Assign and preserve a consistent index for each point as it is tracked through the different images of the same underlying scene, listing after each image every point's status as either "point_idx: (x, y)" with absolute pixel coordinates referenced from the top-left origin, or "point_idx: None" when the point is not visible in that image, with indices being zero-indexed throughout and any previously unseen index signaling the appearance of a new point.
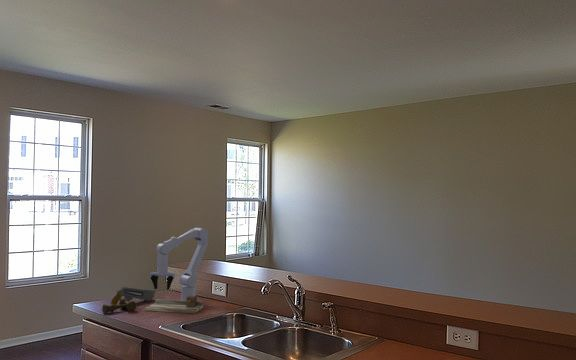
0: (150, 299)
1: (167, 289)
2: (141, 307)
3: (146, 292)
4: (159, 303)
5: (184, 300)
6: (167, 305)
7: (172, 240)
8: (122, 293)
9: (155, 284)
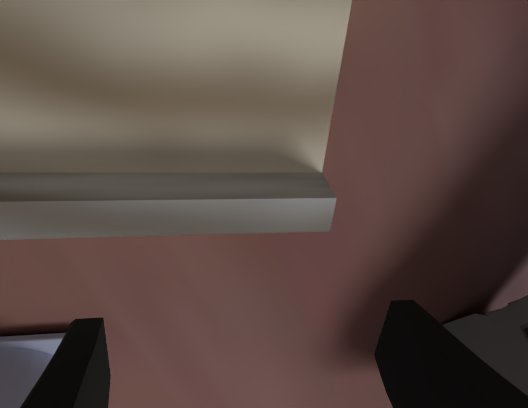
0: None
1: (91, 322)
2: (460, 40)
3: None
4: (253, 172)
5: (5, 366)
6: (68, 75)
7: None
8: None
9: (446, 392)
